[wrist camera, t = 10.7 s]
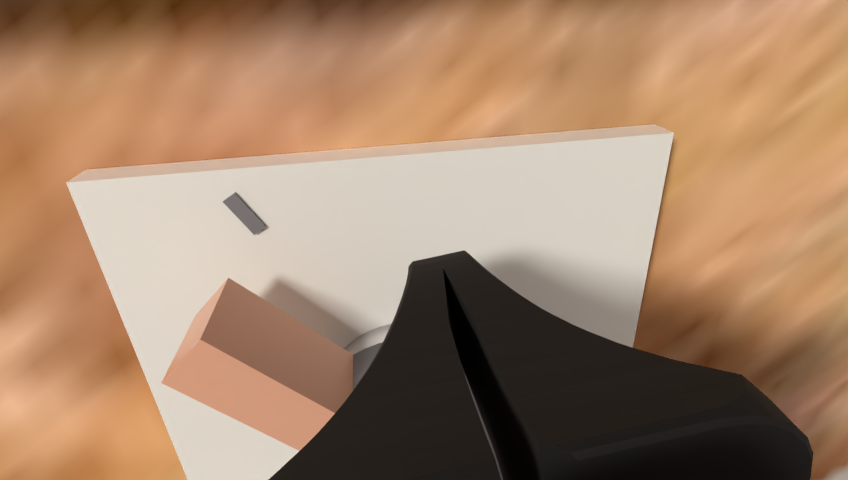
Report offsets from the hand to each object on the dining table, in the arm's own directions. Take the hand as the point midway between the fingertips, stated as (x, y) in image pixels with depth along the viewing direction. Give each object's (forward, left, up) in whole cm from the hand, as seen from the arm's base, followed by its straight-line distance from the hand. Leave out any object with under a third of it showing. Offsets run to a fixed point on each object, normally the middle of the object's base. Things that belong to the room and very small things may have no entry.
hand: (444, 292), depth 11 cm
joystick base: (+1, +6, -4) cm, 7 cm away
